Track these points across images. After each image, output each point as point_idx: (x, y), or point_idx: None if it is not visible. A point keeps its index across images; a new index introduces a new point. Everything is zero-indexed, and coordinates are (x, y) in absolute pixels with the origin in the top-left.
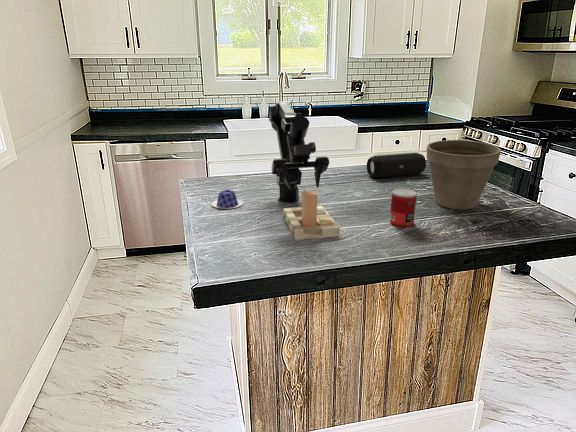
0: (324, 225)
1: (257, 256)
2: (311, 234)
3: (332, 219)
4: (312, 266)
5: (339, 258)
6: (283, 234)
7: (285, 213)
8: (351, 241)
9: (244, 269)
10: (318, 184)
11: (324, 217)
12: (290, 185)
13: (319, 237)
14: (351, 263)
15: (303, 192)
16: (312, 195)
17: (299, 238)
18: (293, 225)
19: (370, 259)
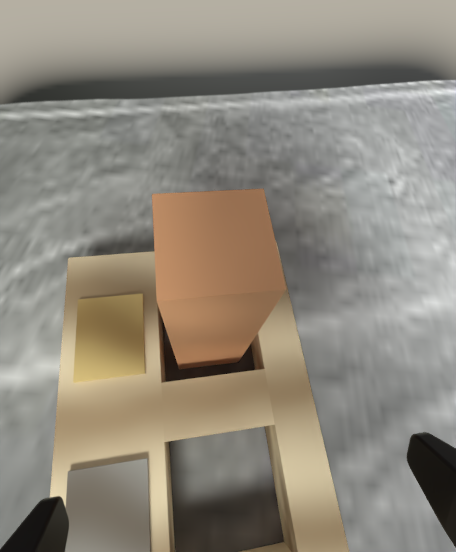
0: (135, 287)
1: (381, 170)
2: None
3: (64, 366)
4: (227, 107)
5: (142, 131)
6: (318, 319)
7: (339, 519)
8: (53, 228)
9: (397, 117)
10: (31, 520)
11: (101, 404)
12: (443, 452)
13: None
14: (117, 105)
15: (269, 268)
16: (195, 192)
17: None
18: (286, 301)
19: (51, 115)
